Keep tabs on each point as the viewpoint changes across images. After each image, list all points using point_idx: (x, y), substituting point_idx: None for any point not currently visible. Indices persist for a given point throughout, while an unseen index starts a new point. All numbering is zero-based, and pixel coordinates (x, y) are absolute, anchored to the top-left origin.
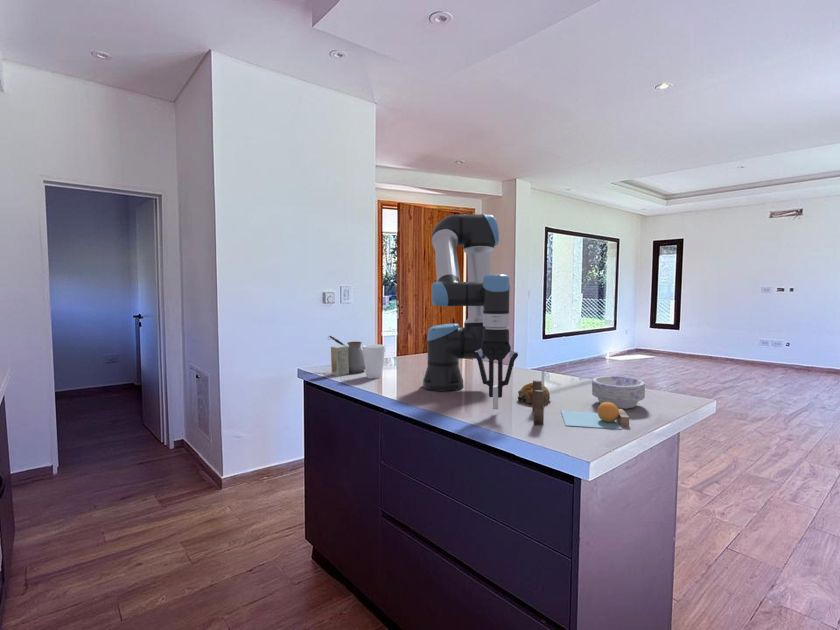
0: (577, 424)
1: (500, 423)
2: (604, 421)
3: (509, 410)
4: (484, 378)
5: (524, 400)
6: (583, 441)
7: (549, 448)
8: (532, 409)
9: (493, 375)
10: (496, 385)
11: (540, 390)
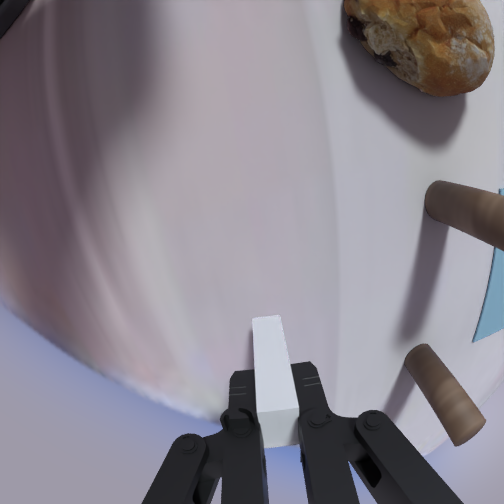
0: (496, 322)
1: None
2: None
3: (326, 229)
4: (201, 495)
5: (387, 63)
6: None
7: None
8: (428, 203)
9: (264, 491)
10: (283, 414)
11: (480, 423)
